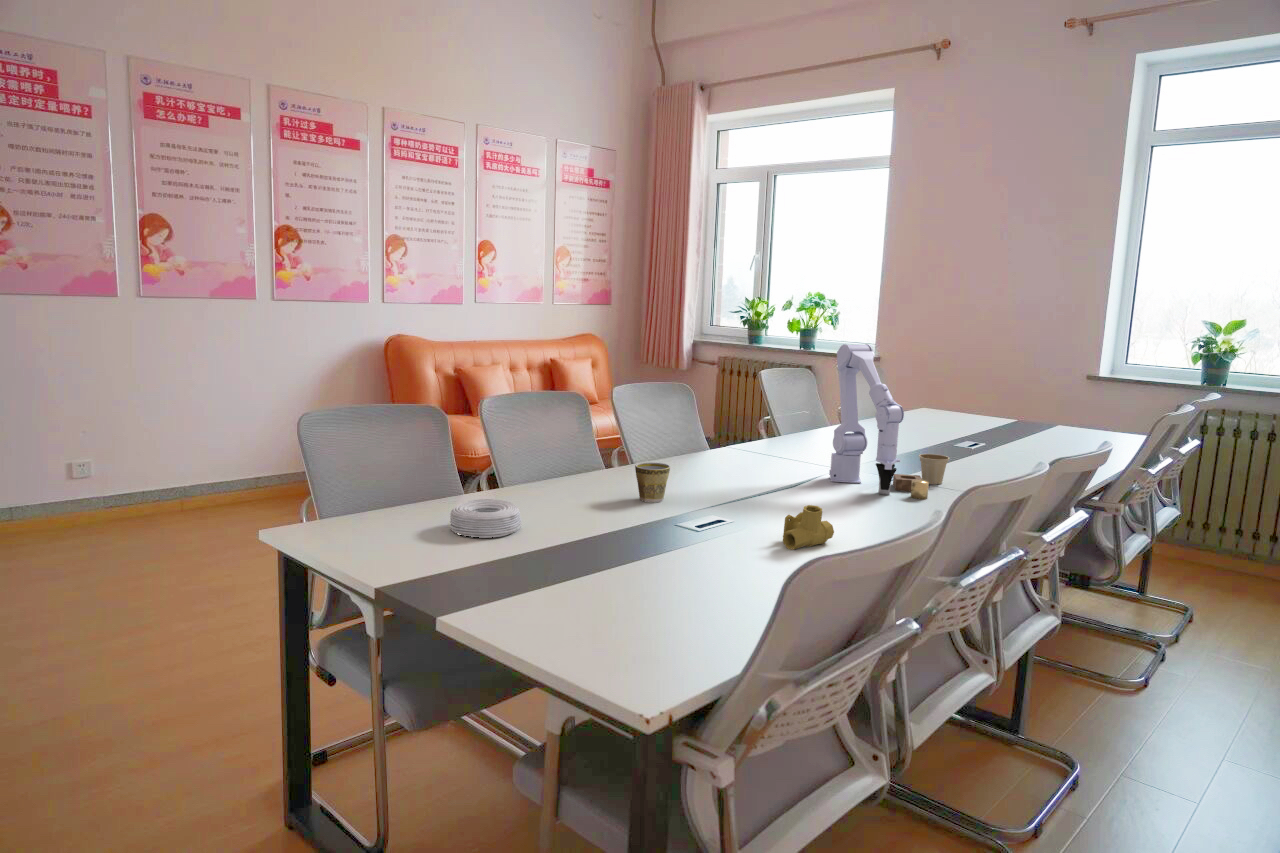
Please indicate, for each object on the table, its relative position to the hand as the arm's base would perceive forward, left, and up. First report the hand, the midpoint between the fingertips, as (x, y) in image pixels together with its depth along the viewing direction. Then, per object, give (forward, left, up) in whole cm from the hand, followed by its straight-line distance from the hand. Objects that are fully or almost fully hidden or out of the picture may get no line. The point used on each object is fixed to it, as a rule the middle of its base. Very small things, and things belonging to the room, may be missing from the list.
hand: (884, 488), depth 260 cm
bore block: (+8, +10, -2) cm, 13 cm away
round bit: (+10, -2, -2) cm, 10 cm away
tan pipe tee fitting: (-25, -60, -2) cm, 65 cm away
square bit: (0, 0, -2) cm, 2 cm away
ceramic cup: (-67, -26, -2) cm, 72 cm away
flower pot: (+17, +21, -2) cm, 27 cm away
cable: (-101, -69, -2) cm, 123 cm away
